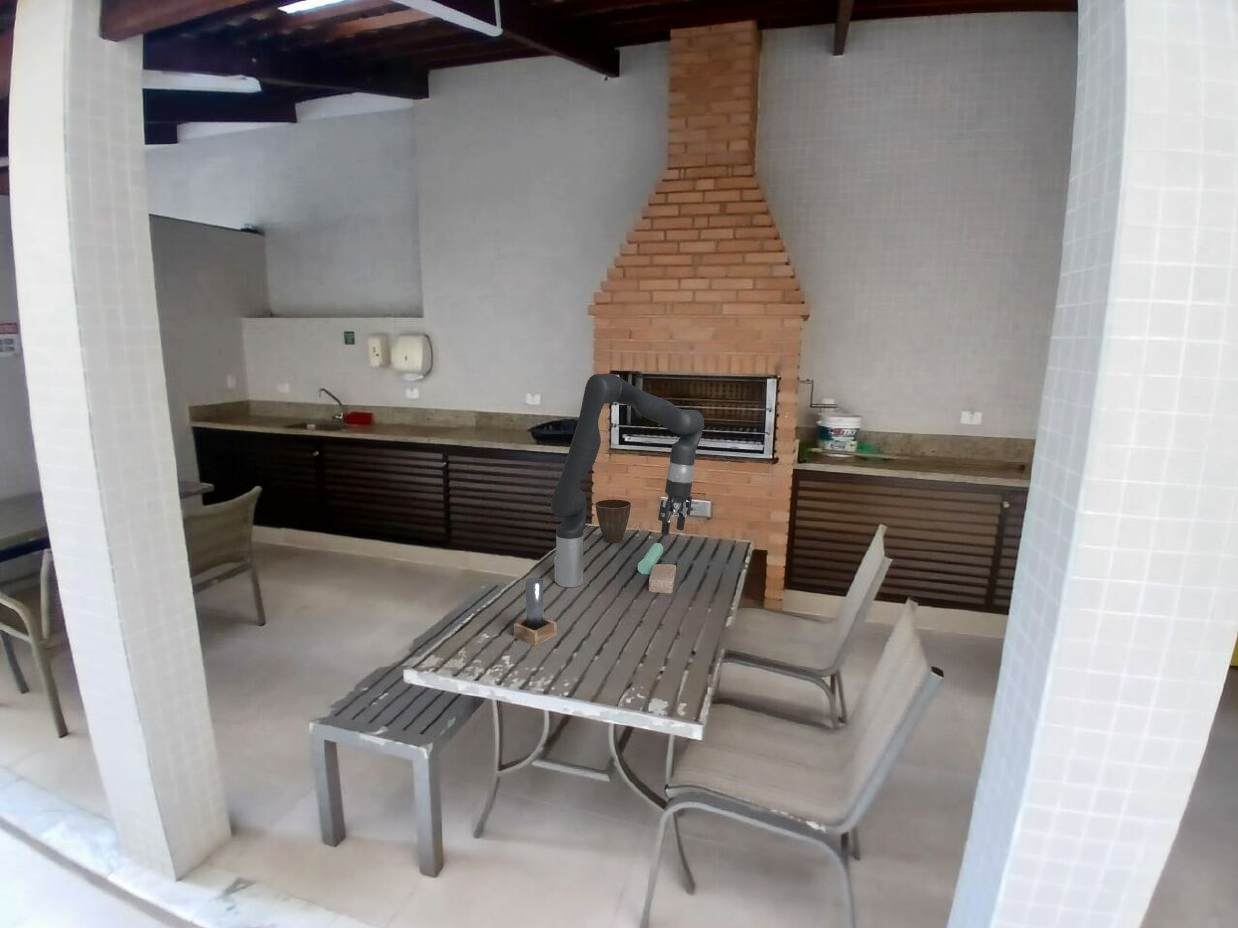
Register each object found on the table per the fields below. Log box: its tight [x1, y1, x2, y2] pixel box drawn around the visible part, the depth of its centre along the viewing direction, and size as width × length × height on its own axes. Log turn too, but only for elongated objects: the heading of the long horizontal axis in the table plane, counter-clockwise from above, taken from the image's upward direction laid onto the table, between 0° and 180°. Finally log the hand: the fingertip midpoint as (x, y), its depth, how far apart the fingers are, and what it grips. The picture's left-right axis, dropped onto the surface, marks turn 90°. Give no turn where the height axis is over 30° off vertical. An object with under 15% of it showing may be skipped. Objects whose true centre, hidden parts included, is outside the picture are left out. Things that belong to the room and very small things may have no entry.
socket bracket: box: [512, 617, 559, 647], centre depth 177 cm, size 9×9×4 cm
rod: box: [525, 577, 545, 631], centre depth 175 cm, size 5×5×16 cm
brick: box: [648, 563, 677, 594], centre depth 218 cm, size 17×8×5 cm, turn 171°
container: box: [637, 542, 664, 575], centre depth 239 cm, size 6×6×25 cm
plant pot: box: [594, 499, 632, 544], centre depth 265 cm, size 15×15×16 cm
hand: (672, 532), depth 185 cm, fingers open, 8 cm apart
